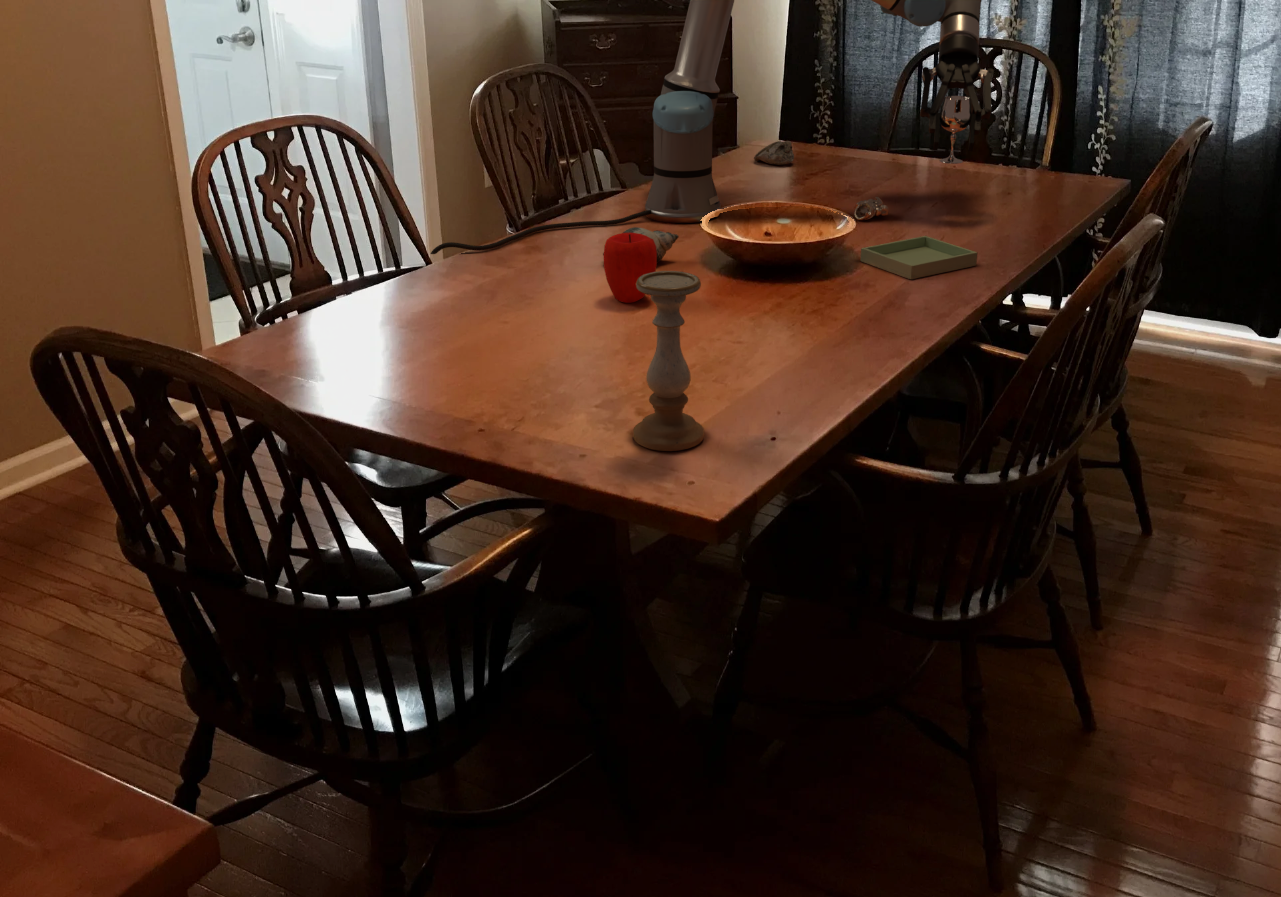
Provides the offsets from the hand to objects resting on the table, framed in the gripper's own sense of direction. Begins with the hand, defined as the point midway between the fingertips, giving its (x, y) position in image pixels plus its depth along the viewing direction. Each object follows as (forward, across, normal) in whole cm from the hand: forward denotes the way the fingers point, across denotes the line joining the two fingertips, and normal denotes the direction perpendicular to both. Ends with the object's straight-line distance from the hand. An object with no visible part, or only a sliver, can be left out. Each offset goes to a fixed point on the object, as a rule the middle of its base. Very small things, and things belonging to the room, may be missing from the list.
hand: (953, 146), depth 240 cm
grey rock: (-27, +38, -49) cm, 67 cm away
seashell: (+35, +54, +12) cm, 66 cm away
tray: (+30, +6, +8) cm, 31 cm away
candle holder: (+87, +36, +65) cm, 115 cm away
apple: (+50, +52, +27) cm, 77 cm away
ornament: (+8, +14, -14) cm, 22 cm away
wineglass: (0, 0, -5) cm, 5 cm away
